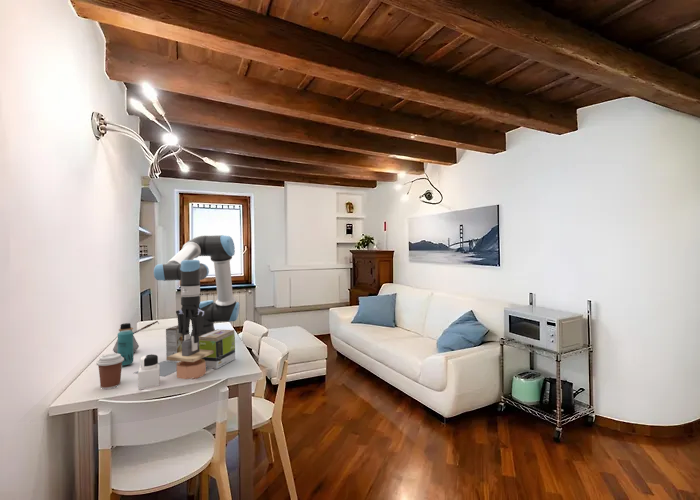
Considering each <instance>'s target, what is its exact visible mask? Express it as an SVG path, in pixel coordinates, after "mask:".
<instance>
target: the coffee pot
mask: <svg viewBox="0 0 700 500" xmlns="http://www.w3.org/2000/svg"><path fill="white" fill-rule="evenodd" d="M155 324H158V325H159V324H160V323H159V321H158V320H156V321H154V322H152V323H149V324H146V325H145V326H144V327H141V328H139V329H137V330H134V328H133V327H131V328H128V329H120V328H119V329H118V331H119V332H120V331H124V330H131V331H132V332H133V345H134V346H133V354H134V353H135V352H137V350H138V349H139V347H140V345H139V343H138V341H137V340H136V338H135V336H134V335H135V334H137V333H138V332H141V331H143V330H145V329H147V328H150V327H151V326H153V325H155ZM133 330H134V331H133ZM117 350H118V338H117V340H116V341H115V343H114V346H113V348H112V351H113V352H114V353H117Z"/></svg>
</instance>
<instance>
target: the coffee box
mask: <svg viewBox="0 0 700 500" xmlns="http://www.w3.org/2000/svg"><path fill="white" fill-rule="evenodd" d="M165 340H166V341H165V344H166V347H165V348H166V351H165V352H166V355H165V356H166V360H165V361H170V362H175V361H174V360H167V357H168V356H170V355H173V354H176V353H178V352H181V351H182V341H183V335H182V334H181V333H179V329H178V324H177V325H174V326H172V327H171V326H170V327H168V328H166V329H165Z"/></svg>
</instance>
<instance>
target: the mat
mask: <svg viewBox="0 0 700 500" xmlns="http://www.w3.org/2000/svg"><path fill="white" fill-rule="evenodd" d="M178 362H179V361H166V360H162V361H160V362H158V364H159V365H160V377H165V378H166V377H168V376H170V375H172V374H174V373H177V365H176V363H178ZM138 371H139V370H138ZM138 371H135V372H133V374H137V375H138Z"/></svg>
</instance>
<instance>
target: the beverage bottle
mask: <svg viewBox="0 0 700 500" xmlns="http://www.w3.org/2000/svg"><path fill="white" fill-rule="evenodd" d="M128 328H132V325H131V322H130V323H129V322H126V323H122V324H120V326H119V329H128ZM133 332H134V331H133V330H132V331H131V330H124V331H119V332H118V333H117V339H118V350H117V353H118V354H121V356H122V357H123V358H124V361H123V362H122V366H127V365H131V364H133V363H134V353H133V346H134V345H133V336H134V334H133Z"/></svg>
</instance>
